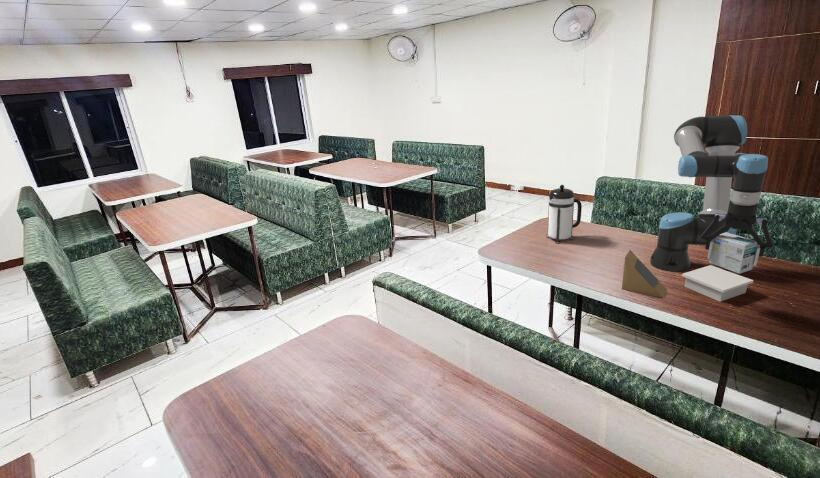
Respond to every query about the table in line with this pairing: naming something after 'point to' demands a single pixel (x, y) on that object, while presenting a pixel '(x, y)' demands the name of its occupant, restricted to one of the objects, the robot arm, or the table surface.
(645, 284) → the sandwich container
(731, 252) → the light bulb box
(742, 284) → the podium
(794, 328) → the table surface
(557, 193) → the coffee press
